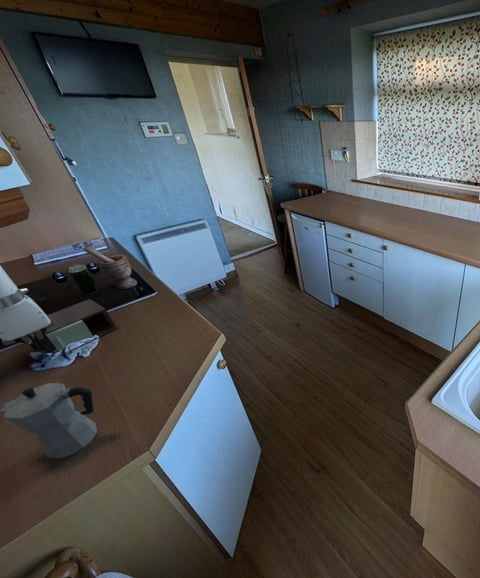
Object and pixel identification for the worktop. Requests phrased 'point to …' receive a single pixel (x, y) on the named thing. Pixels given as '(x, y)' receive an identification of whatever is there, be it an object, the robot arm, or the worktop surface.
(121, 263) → the mortar and pestle
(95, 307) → the cupboard
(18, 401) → the coffeepot
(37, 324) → the robot arm
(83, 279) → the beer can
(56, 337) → the sliding door
